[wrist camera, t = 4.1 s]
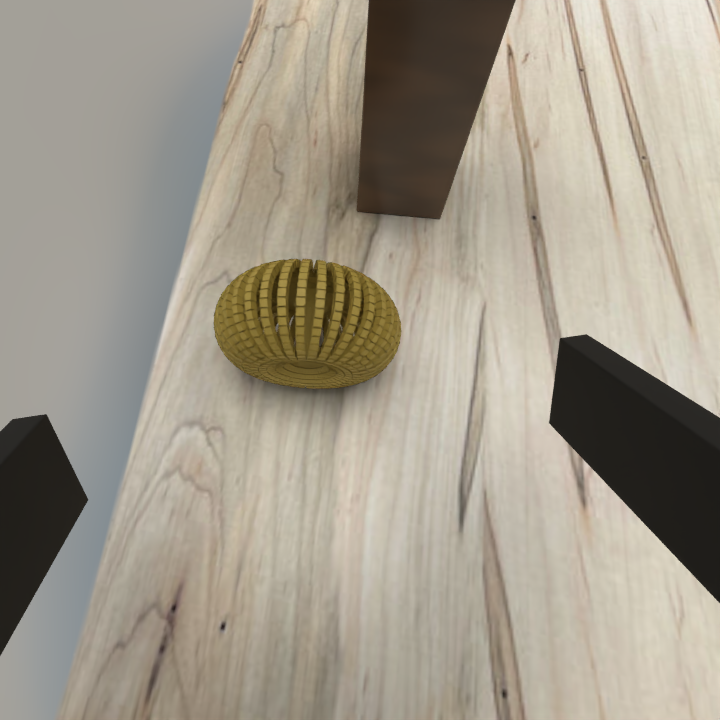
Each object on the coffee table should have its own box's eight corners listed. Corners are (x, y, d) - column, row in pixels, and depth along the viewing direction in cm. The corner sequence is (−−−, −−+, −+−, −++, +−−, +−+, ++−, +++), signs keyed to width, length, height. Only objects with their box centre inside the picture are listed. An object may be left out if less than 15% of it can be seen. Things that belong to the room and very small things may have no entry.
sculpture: (232, 393, 22) (177, 334, 15) (242, 320, 24) (196, 231, 16) (390, 401, 22) (415, 346, 15) (391, 328, 24) (415, 244, 16)
